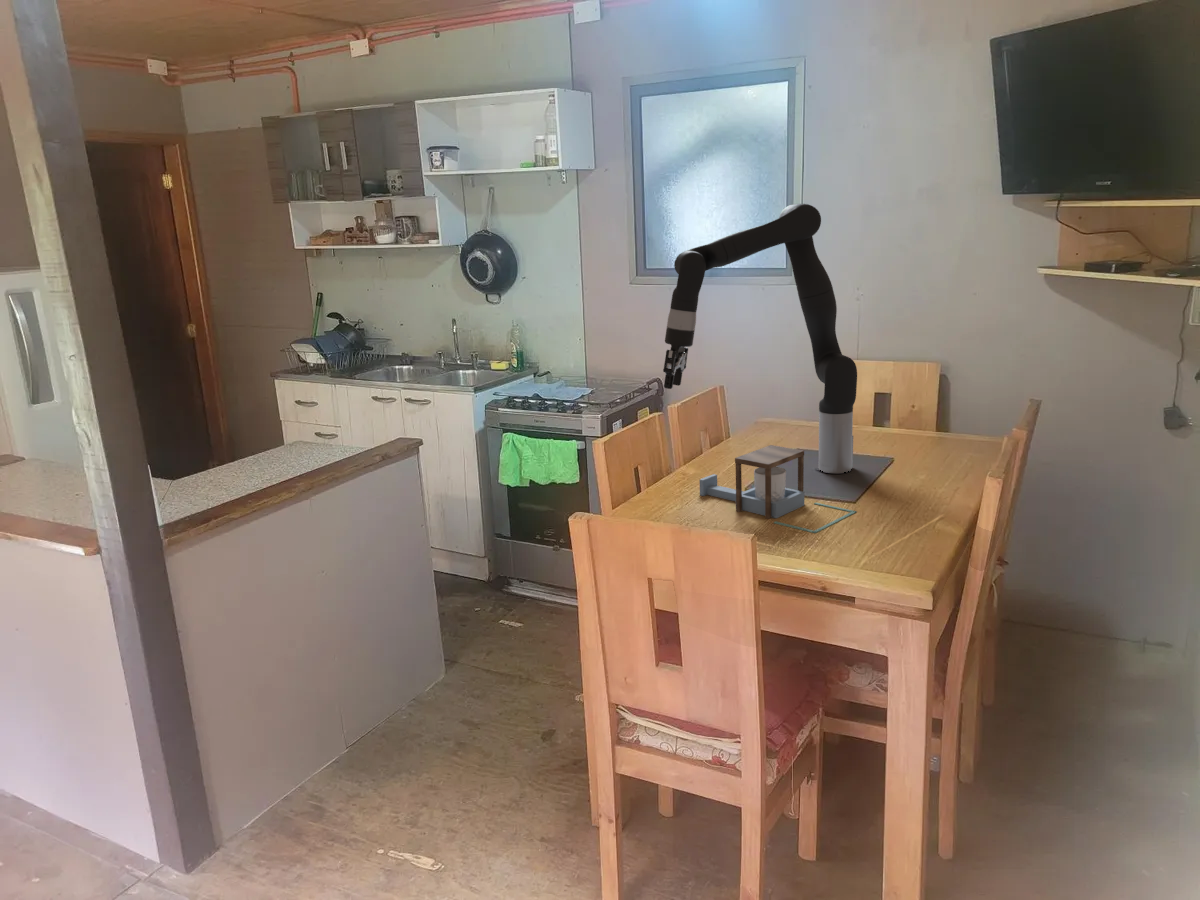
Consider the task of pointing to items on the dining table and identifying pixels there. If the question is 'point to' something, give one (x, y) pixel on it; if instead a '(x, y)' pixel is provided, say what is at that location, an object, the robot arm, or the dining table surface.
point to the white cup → (776, 483)
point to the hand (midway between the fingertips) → (672, 386)
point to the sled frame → (753, 498)
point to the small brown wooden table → (768, 469)
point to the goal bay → (824, 525)
